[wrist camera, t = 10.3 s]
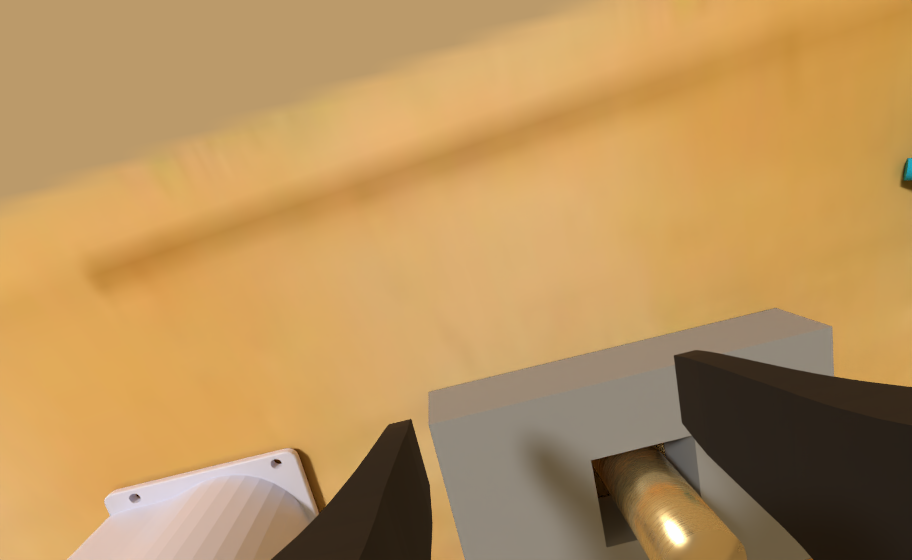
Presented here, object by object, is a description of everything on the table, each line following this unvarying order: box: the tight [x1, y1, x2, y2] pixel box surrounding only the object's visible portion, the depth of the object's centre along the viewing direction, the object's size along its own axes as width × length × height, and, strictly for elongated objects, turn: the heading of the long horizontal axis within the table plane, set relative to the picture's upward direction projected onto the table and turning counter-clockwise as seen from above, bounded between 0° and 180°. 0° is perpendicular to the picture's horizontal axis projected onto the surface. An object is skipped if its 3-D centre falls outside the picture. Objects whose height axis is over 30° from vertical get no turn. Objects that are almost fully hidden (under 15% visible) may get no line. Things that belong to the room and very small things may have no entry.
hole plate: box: [429, 308, 834, 560], centre depth 21 cm, size 18×12×3 cm, turn 103°
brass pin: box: [591, 445, 747, 560], centre depth 19 cm, size 3×3×7 cm
